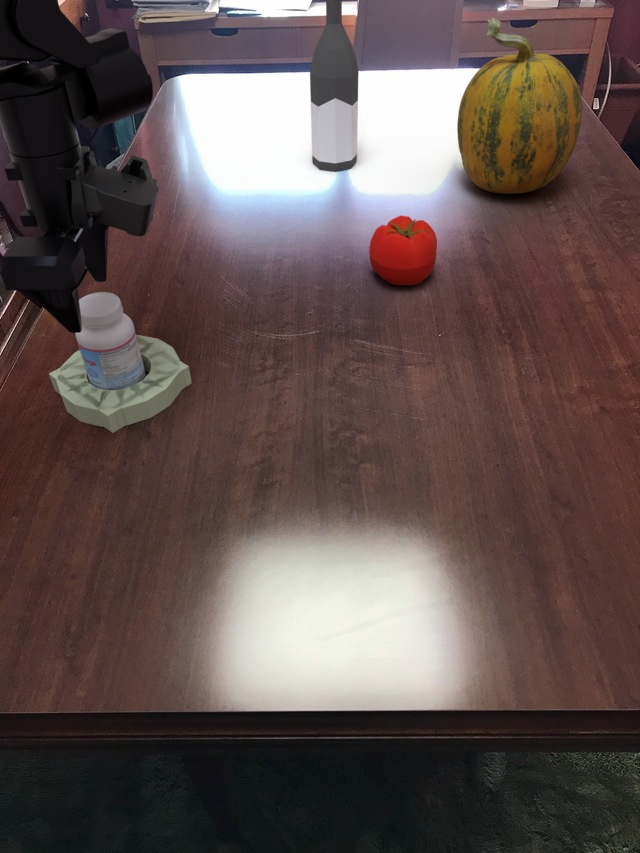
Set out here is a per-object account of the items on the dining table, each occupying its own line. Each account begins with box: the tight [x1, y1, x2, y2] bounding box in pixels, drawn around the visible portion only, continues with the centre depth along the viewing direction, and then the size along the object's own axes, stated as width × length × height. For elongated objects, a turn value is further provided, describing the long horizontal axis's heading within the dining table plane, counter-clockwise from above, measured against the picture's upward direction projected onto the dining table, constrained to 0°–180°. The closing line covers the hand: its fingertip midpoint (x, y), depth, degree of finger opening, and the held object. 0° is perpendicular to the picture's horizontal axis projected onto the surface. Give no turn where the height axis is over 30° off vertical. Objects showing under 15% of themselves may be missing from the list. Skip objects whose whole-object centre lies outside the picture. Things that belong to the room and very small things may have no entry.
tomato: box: [368, 215, 438, 286], centre depth 93 cm, size 9×9×8 cm
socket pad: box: [48, 334, 193, 434], centre depth 78 cm, size 13×13×2 cm
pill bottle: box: [75, 291, 147, 390], centre depth 74 cm, size 6×6×11 cm
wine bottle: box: [309, 0, 359, 173], centre depth 114 cm, size 8×8×30 cm
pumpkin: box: [456, 17, 583, 195], centre depth 108 cm, size 19×19×25 cm
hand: (89, 305), depth 68 cm, fingers open, 9 cm apart
